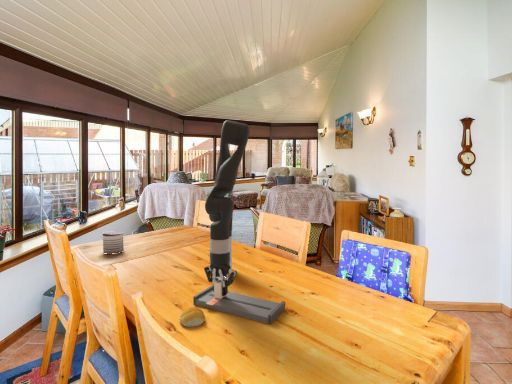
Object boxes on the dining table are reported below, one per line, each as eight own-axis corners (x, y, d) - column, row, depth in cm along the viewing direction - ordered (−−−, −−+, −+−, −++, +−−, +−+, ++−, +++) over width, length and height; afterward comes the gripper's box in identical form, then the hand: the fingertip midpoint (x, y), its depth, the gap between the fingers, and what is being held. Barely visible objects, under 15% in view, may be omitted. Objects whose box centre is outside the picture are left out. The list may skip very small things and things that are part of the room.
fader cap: (214, 297, 121) (213, 281, 121) (220, 293, 125) (220, 278, 124) (220, 299, 120) (220, 283, 119) (226, 294, 124) (226, 279, 123)
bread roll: (202, 313, 115) (201, 302, 114) (206, 325, 106) (206, 313, 106) (178, 316, 112) (177, 305, 112) (180, 329, 103) (180, 317, 103)
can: (100, 251, 189) (99, 231, 187) (120, 248, 196) (119, 228, 195) (106, 256, 180) (105, 235, 179) (127, 252, 188) (126, 232, 187)
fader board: (191, 305, 120) (191, 297, 120) (212, 292, 132) (212, 285, 131) (269, 326, 105) (269, 317, 105) (285, 309, 117) (285, 301, 117)
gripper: (241, 249, 121) (241, 294, 122) (210, 245, 127) (211, 287, 129) (230, 255, 114) (230, 302, 116) (198, 249, 121) (199, 294, 122)
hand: (220, 294), depth 122 cm, fingers closed on fader cap, 3 cm apart
